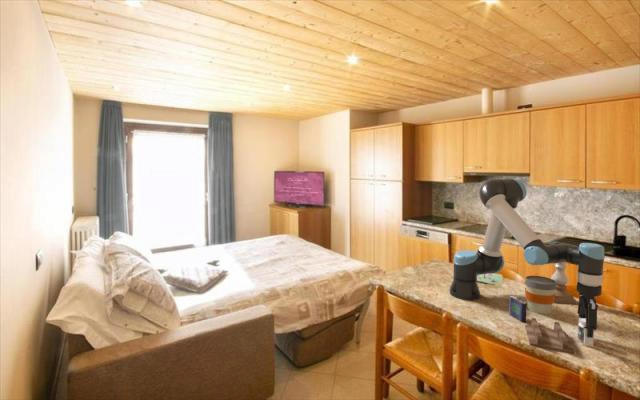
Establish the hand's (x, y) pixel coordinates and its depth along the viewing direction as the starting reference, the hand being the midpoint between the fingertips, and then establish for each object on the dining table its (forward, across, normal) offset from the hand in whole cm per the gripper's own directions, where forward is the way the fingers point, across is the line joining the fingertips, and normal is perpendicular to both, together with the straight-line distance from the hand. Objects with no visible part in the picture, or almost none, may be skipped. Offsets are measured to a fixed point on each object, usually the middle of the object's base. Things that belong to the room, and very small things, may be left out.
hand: (585, 338), depth 128 cm
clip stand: (+1, -5, +13) cm, 14 cm away
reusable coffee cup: (+1, +25, +12) cm, 28 cm away
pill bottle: (+1, 0, 0) cm, 1 cm away
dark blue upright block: (+1, +11, +22) cm, 25 cm away
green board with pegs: (+1, +65, +34) cm, 74 cm away
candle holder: (+1, +44, +1) cm, 44 cm away
